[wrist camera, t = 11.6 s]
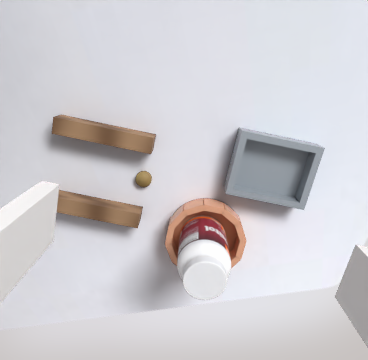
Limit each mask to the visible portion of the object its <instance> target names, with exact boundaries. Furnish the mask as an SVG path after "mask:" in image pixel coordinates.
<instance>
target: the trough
mask: <svg viewBox="0 0 368 360" xmlns="http://www.w3.org/2000/svg"><path fill="white" fill-rule="evenodd" d="M324 149H325V148H323V147H321V146H320V145H318V144H314V143H310V142H305V141H300V140H295V139H291V138H286V137H281V136H277V135H272V134H267V133H262V132H258V131H253V130H248V129H244V128H239V130H238V134H237V138H236V142H235V146H234V150H233V154H232V158H231V162H230V166H229V170H228V173H227V177H226V181H225V185H224V189H225V193H226V194H229V195H234V196H238V197H243V198H248V199H253V200H258V201H263V202H268V203H273V204H278V205H282V206H287V207H292V208H297V209H302V210H304V208H305V205H306V202H307V199H308V196H309V193H310V190H311V187H312V184H313V181H314V178H315V175H316V172H317V169H318V166H319V163H320V161H321V158H322V155H323V152H324Z"/></svg>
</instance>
